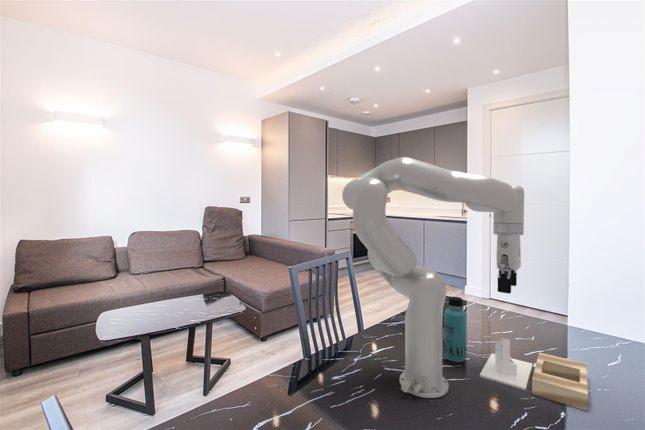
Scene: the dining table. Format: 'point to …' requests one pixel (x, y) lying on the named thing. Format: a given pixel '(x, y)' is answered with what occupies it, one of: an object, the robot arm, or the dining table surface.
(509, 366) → the white angled block
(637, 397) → the dining table surface
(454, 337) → the beverage bottle
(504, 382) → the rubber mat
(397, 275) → the robot arm
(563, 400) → the block
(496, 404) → the dining table surface
